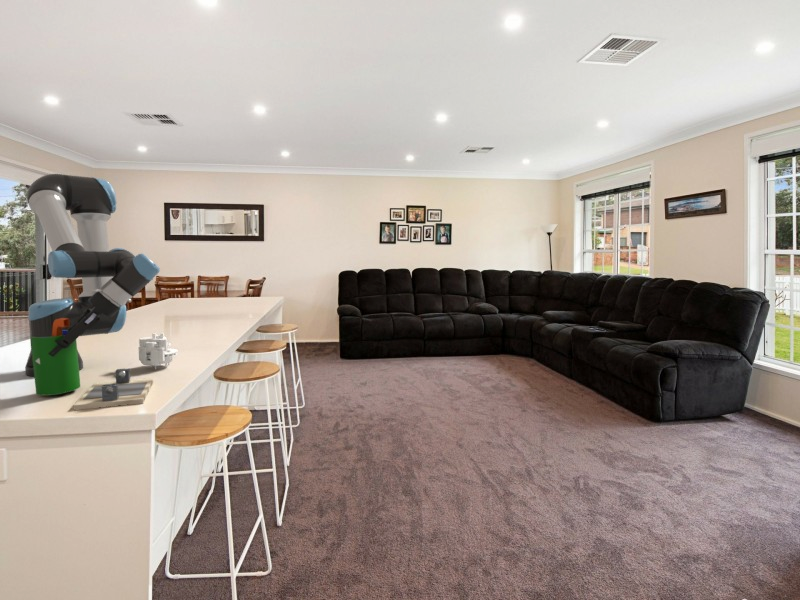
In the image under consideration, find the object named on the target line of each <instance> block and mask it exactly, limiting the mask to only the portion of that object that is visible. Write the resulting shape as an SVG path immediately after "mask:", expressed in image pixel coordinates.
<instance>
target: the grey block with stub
mask: <svg viewBox="0 0 800 600" xmlns="http://www.w3.org/2000/svg"><path fill="white" fill-rule="evenodd" d="M130 380H131V369H130V368H119V369H118V368H117V369H116V370H115V381H116V384H122V383H129V382H130Z"/></svg>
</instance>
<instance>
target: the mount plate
mask: <svg viewBox="0 0 800 600" xmlns="http://www.w3.org/2000/svg"><path fill="white" fill-rule="evenodd" d="M111 383H113V384H116V380H115V381H107V382H106V381H103V382H94V383H93V384H92V385H91V386H90V387H89V389H87V390H86V391H85V393H84V394H83V395H82V396H81V397H80V398H79V399H78V400H77V401H76V402H75V403H74V405H73V411H78V410H89V409H100V408H99V407H101V408H108V406H111V407H119V406H118V405H121V406H128V405H127V404H132V405H140V404H144V402H145V400H146V398H147V396H148V394H149V392H150V390H151V388H152V386H153V384H154V378H143V379H130V382H129V383H122V384H118V393H119V398H118V400H114V401H103V400H102V386H103V385H107V384H111ZM106 406H107V407H106Z"/></svg>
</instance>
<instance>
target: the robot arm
mask: <svg viewBox="0 0 800 600" xmlns="http://www.w3.org/2000/svg"><path fill="white" fill-rule="evenodd" d="M26 201H27V204H28V207H29V208H30V211H32V212H33V213H34V214H36V216H37V218H38V221H39V223H40V225H41V227H42V229H43V230H42V231H43V232H44V234H45V236H46V239H47V241H48V243H49V246H50V249H51V251H50V252H49V253H48V256H47V267H48V272H49V274H50V275H51V276H52V277H53V278H59V279H60V278H62V279H63V278H66V279H73V278H74V279H75V278H77V279H79V278H80V279H81V278H82V279H81V280H82V281H81V283H82V292H81V293H80V294H79V295H78V297H77V298H78V301H74V299H73V298H71V297H64V298H53V299H48V300H47V299H46V300H41V301H38V302H35V303H33V304H31V305H30V306H29V308H28V317H27V320H28V324H29V325H28V326H29V340H30V343H31V339H30V337H51V336H52V329H53V323H54V321H55V320H56V319H60V318H68V319H69V325H70V326H68V327H62V330H68V331H69V330H70V331H69V332H68V333H66V334H65V336H64V337H63V338H61V339H60V340H59V341H58V340H57V339H56V340H55V342H56V343H57V344H58V345H57V346H56V347H55V348H54V349H53V350H52V351H50V352H49V353H48V354H49V355H51V356H52V357H54V356H55V355H56V354H57V353H58V352H59V351H60V350H61V349H62V348H67V347H69V345H70V344H71V343H72V342H74V341H75V340H76V341H77V339H78V338H79V337H86V336H95V335H103V334H104V335H108V334H111V333H113V334H114V333H118V332H120V331H121V330H122V329H123V328H124V325H125V323H126V320H127V305H126V304H127V303H131V302H132V298H134V296H136V295H137V294H138V293H139V292H140V291H141V290H142V289H143V288H144V287H146V286H147V285H148V284H149V283H150V282H151V281H153V280H154V278H155V277H156V276H157V275H158V274H159V273H160V272H161V269H160V267H159V266H158V264H156V263H155V262H153V261H152V260H151V259H150V258H149V257H148V256H147V255H146V254H144V253H138V254H137V255H136V256H135V254H134V253H132V252H131V251H129V250H127V249H125V248H121V247H115V248H112V249H110V248H109V236H108V226H107V222H108V221H109V220H110V219H111V218H112V215H111V214H114V213H115V212H116V210H117V197H116V193H115V190H114V187H113V186H112V184H111V183H110V182H109V181H108V180H105V179H103V178H97V177H93V176H92V177H88V176H78V175H71V174H70V175H67V174H63V173H50V174H46V175H43V176H41V177H38V178H37V179H35V180H33V182H32V183H31V185H30V186H29V188H28V189H27V193H26ZM68 211H69V212H70V216H69V213H68ZM71 218H72V219H71ZM72 220H74V221H75V222H76V228H77V230H76V228H75V226H74V224H73V222H72ZM59 336H61V335H59ZM64 340H65V341H64ZM53 352H54V354H53ZM77 353H78V364H79V371H80V370H82V369H84V362H83V359H82V356H81V354H80V352H79V350H78V349H77ZM36 362H37V363H39V364H40V359H39V358H38V359H37V360H36ZM24 370H25V371H24V372H25V375H26V376H30V377H34V368H33V358H32V348H31V347H30V352H29V355H28V357H27V362H26V364H25V368H24Z"/></svg>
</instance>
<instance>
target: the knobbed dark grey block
mask: <svg viewBox="0 0 800 600" xmlns="http://www.w3.org/2000/svg"><path fill="white" fill-rule="evenodd" d="M118 398H119V393H118V384H113V383H111V384H107V385H103V386H102V400H103V401H114V400H118Z"/></svg>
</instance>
